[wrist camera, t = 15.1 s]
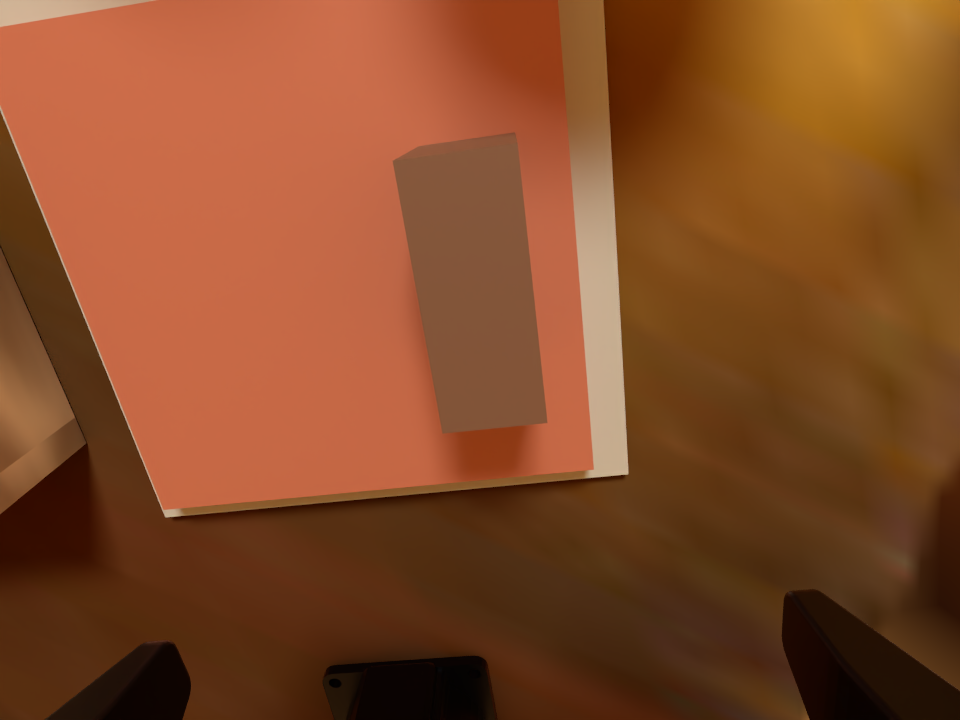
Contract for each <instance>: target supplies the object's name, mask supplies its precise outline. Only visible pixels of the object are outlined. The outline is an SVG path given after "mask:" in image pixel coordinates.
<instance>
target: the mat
mask: <svg viewBox="0 0 960 720" xmlns="http://www.w3.org/2000/svg"><path fill="white" fill-rule="evenodd" d="M149 1H155V0H0V27H3V26H9V25H15V24H21V23H27V22H32V21H38V20H44V19H50V18H56V17H62V16H68V15H73V14H79V13H85V12H91V11H97V10H103V9H108V8H114V7H120V6H126V5H132V4H138V3H144V2H149ZM558 8H559V21H560V34H561V47H562V60H563V73H564V86H565V99H566V112H567V125H568V138H569V151H570V164H571V177H572V190H573V203H574V216H575V229H576V242H577V255H578V268H579V281H580V294H581V308H582V321H583V334H584V347H585V360H586V373H587V386H588V399H589V412H590V425H591V438H592V451H593V464H594V470H585V471H574V472H564V473H553V474H542V475H532V476H521V477H510V478H500V479H489V480H478V481H468V482H457V483H446V484H436V485H425V486H414V487H404V488H393V489H382V490H372V491H361V492H350V493H340V494H329V495H318V496H308V497H297V498H286V499H276V500H265V501H254V502H244V503H233V504H222V505H212V506H201V507H190V508H180V509H169V510H163V508H162V505H161V503H160V500H159V498H158V495H157V493H156V490H155V488H154V485H153V483H152V480H151V478H150V475H149V473H148V470H147V468H146V465H145V463H144V461H143V458H142V456H141V453H140V451H139V448H138V446H137V443H136V441H135V438H134V436H133V433H132V431H131V428H130V426H129V423H128V421H127V418H126V416H125V413H124V411H123V408H122V406H121V404H120V401H119V399H118V396H117V394H116V391H115V389H114V386H113V384H112V381H111V379H110V376H109V374H108V371H107V369H106V366H105V364H104V361H103V359H102V356H101V354H100V352H99V349H98V347H97V344H96V342H95V339H94V337H93V334H92V332H91V329H90V327H89V324H88V322H87V319H86V317H85V314H84V312H83V309H82V307H81V304H80V302H79V299H78V297H77V295H76V292H75V290H74V287H73V285H72V282H71V280H70V277H69V275H68V272H67V270H66V267H65V265H64V262H63V260H62V257H61V255H60V252H59V250H58V247H57V245H56V243H55V240H54V238H53V235H52V233H51V230H50V228H49V225H48V223H47V220H46V218H45V215H44V213H43V210H42V208H41V205H40V203H39V200H38V198H37V195H36V193H35V191H34V188H33V186H32V183H31V181H30V178H29V176H28V173H27V171H26V168H25V166H24V163H23V161H22V158H21V156H20V153H19V151H18V148H17V146H16V143H15V141H14V138H13V136H12V134H11V131H10V129H9V126H8V124H7V121H6V119H5V116H4V114H3V111H2V109H1V106H0V111H1V113H2V116H3V118H4V121H5V123H6V125H7V128H8V130H9V133H10V135H11V138H12V140H13V143H14V145H15V148H16V150H17V153H18V155H19V158H20V160H21V162H22V165H23V167H24V170H25V172H26V175H27V177H28V180H29V182H30V185H31V187H32V190H33V192H34V195H35V197H36V199H37V202H38V204H39V207H40V209H41V212H42V214H43V217H44V219H45V222H46V224H47V227H48V229H49V232H50V234H51V236H52V239H53V241H54V244H55V246H56V249H57V251H58V254H59V256H60V259H61V261H62V264H63V266H64V269H65V271H66V273H67V276H68V278H69V281H70V283H71V286H72V288H73V291H74V293H75V296H76V298H77V301H78V303H79V306H80V308H81V310H82V313H83V315H84V318H85V320H86V323H87V325H88V328H89V330H90V333H91V335H92V338H93V340H94V343H95V345H96V347H97V350H98V352H99V355H100V357H101V360H102V362H103V365H104V367H105V370H106V372H107V375H108V377H109V380H110V382H111V384H112V387H113V389H114V392H115V394H116V397H117V399H118V402H119V404H120V407H121V409H122V412H123V414H124V417H125V419H126V421H127V424H128V426H129V429H130V431H131V434H132V436H133V439H134V441H135V444H136V446H137V449H138V451H139V454H140V456H141V458H142V461H143V463H144V466H145V468H146V471H147V473H148V476H149V478H150V481H151V483H152V486H153V488H154V491H155V493H156V495H157V498H158V500H159V503H160V505H161V508H162V510H163V513H164V515H165V517H176V516H187V515H197V514H208V513H219V512H230V511H240V510H251V509H262V508H273V507H283V506H294V505H305V504H315V503H326V502H337V501H348V500H358V499H369V498H380V497H390V496H401V495H412V494H423V493H433V492H444V491H455V490H465V489H476V488H487V487H498V486H508V485H519V484H530V483H541V482H551V481H562V480H573V479H583V478H594V477H605V476H616V475H626V474H628V456H627V437H626V418H625V399H624V380H623V361H622V342H621V323H620V304H619V285H618V266H617V247H616V228H615V209H614V190H613V170H612V151H611V132H610V113H609V94H608V75H607V56H606V37H605V18H604V0H558Z"/></svg>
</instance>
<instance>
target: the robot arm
mask: <svg viewBox="0 0 960 720" xmlns="http://www.w3.org/2000/svg"><path fill="white" fill-rule="evenodd" d="M782 642H783V647H784V651H785V654H786V657H787V659H788V662H789V665H790V668H791V670H792V673H793V676H794V678H795V681H796V684H797V686H798V689H799V692H800V695H801V697H802V700H803V703H804V705H805V708H806V711H807V714H808V716H809V719H810V720H960V691H959V690H958V689H957V688H955V687H954V686H952V685H951V684H949V683H948V682H947V681H945V680H944V679H943V678H941V677H940V676H938V675H937V674H936V673H934V672H933V671H931V670H930V669H929V668H927V667H926V666H924V665H923V664H922V663H920V662H919V661H917V660H916V659H915V658H913V657H912V656H910V655H909V654H908V653H906V652H905V651H903V650H902V649H900V648H899V647H897V646H896V645H895V644H894V643H892V642H890V641H889V640H888V639H887V638H885V637H884V636H882V635H881V634H880V633H878V632H877V631H875V630H874V629H873V628H871V627H870V626H868V625H867V624H866V623H864V622H863V621H861V620H860V619H858V618H857V617H856V616H854V615H853V614H851V613H850V612H849V611H847V610H846V609H844V608H843V607H842V606H840V605H839V604H837V603H836V602H835V601H833V600H832V599H830V598H829V597H828V596H826V595H825V594H823V593H822V592H820V591H818V590H814V589H810V590H797V591H789V592H787V593H786V595H785V597H784V606H783V623H782ZM472 669H477V670H472ZM323 686H324V689H325V692H326V695H327V698H328V701H329V704H330V707H331V710H332V714H333V717H334V720H497V715H496V709H495V704H494V698H493V693H492V687H491V681H490V676H489V670H488V665H487V662H486V661H485V660H484V659H483V658H481V657H479V656H462V657H448V658H434V659H419V660H405V661H390V662H376V663H361V664H347V665H334V666H330V667H329V668H327V670H326V672H325V675H324V678H323ZM190 690H191V681H190V677H189V674H188V672H187V670H186V667H185V665H184V663H183V660H182V658H181V656H180V654H179V651H178V649H177V647H176V645H175V644H174V643H173V642H171V641H168V640H164V641H152V642H146V643H143V644H141V645H140V646H138V647H137V648H136V649H134V650H133V651H132V652H131V653H129V654H128V655H127V656H125V657H124V658H123V659H122V660H120V661H119V662H118V663H116V664H115V665H114V666H113V667H111V668H110V669H109V670H108V671H106V672H105V673H104V674H102V675H101V676H100V677H99V678H97V679H96V680H95V681H93V682H92V683H91V684H90V685H88V686H87V687H86V688H85V689H83V690H82V691H81V692H79V693H78V694H77V695H76V696H74V697H73V698H72V699H70V700H69V701H68V702H67V703H65V704H64V705H63V706H62V707H60V708H59V709H58V710H56V711H55V712H54V713H53V714H51V715H50V716H49V717H47V718H46V719H45V720H182V719H183V716H184V712H185V709H186V706H187V703H188V700H189V696H190Z"/></svg>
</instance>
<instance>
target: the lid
mask: <svg viewBox="0 0 960 720" xmlns="http://www.w3.org/2000/svg"><path fill="white" fill-rule="evenodd" d="M0 106H1V109H2V111H3V114H4V116H5V119H6V121H7V124H8V126H9V129H10V131H11V134H12V136H13V138H14V141H15V143H16V146H17V148H18V151H19V153H20V156H21V158H22V161H23V163H24V166H25V168H26V171H27V173H28V176H29V178H30V181H31V183H32V186H33V188H34V191H35V193H36V195H37V198H38V200H39V203H40V205H41V208H42V210H43V213H44V215H45V218H46V220H47V223H48V225H49V228H50V230H51V233H52V235H53V238H54V240H55V243H56V245H57V247H58V250H59V252H60V255H61V257H62V260H63V262H64V265H65V267H66V270H67V272H68V275H69V277H70V280H71V282H72V285H73V287H74V290H75V292H76V295H77V297H78V299H79V302H80V304H81V307H82V309H83V312H84V314H85V317H86V319H87V322H88V324H89V327H90V329H91V332H92V334H93V337H94V339H95V342H96V344H97V347H98V349H99V352H100V354H101V356H102V359H103V361H104V364H105V366H106V369H107V371H108V374H109V376H110V379H111V381H112V384H113V386H114V389H115V391H116V394H117V396H118V399H119V401H120V404H121V406H122V408H123V411H124V413H125V416H126V418H127V421H128V423H129V426H130V428H131V431H132V433H133V436H134V438H135V441H136V443H137V446H138V448H139V451H140V453H141V456H142V458H143V461H144V463H145V465H146V468H147V470H148V473H149V475H150V478H151V480H152V483H153V485H154V488H155V490H156V493H157V495H158V498H159V500H160V503H161V505H162V508H163V510H169V509H180V508H190V507H201V506H212V505H222V504H233V503H244V502H254V501H265V500H276V499H286V498H297V497H308V496H318V495H329V494H340V493H350V492H361V491H372V490H382V489H393V488H404V487H414V486H425V485H436V484H446V483H457V482H468V481H478V480H489V479H500V478H510V477H521V476H532V475H542V474H553V473H564V472H574V471H585V470H594V464H593V451H592V438H591V425H590V412H589V399H588V386H587V373H586V360H585V347H584V334H583V321H582V308H581V294H580V281H579V268H578V255H577V242H576V229H575V216H574V203H573V190H572V177H571V164H570V151H569V138H568V125H567V112H566V99H565V86H564V73H563V60H562V47H561V34H560V21H559V8H558V0H155V1H149V2H144V3H138V4H132V5H126V6H120V7H114V8H108V9H103V10H97V11H91V12H85V13H79V14H73V15H68V16H62V17H56V18H50V19H44V20H38V21H32V22H27V23H21V24H15V25H9V26H3V27H0Z"/></svg>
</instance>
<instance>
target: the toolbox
mask: <svg viewBox="0 0 960 720" xmlns="http://www.w3.org/2000/svg"><path fill="white" fill-rule="evenodd" d="M85 444H86V441H85V439H84V436H83V434H82V432H81V430H80V427H79V425H78V423H77V420H76V418H75V416H74V414H73V411H72V409H71V407H70V405H69V402H68V400H67V398H66V395H65V393H64V391H63V389H62V386H61V384H60V382H59V380H58V377H57V375H56V373H55V370H54V368H53V366H52V364H51V361H50V359H49V357H48V355H47V352H46V350H45V348H44V346H43V343H42V341H41V339H40V336H39V334H38V332H37V330H36V327H35V325H34V323H33V321H32V318H31V316H30V314H29V311H28V309H27V307H26V305H25V302H24V300H23V298H22V296H21V293H20V291H19V289H18V286H17V284H16V282H15V280H14V277H13V275H12V273H11V271H10V268H9V266H8V264H7V261H6V259H5V257H4V255H3V252H2V250H1V248H0V514H1V513H2V512H3V511H5V510H6V509H7V508H8V507H10V506H11V505H12V504H13V503H14V502H16V501H17V500H18V499H19V498H20V497H22V496H23V495H24V494H25V493H27V492H28V491H29V490H30V489H31V488H33V487H34V486H35V485H36V484H38V483H39V482H40V481H41V480H42V479H44V478H45V477H46V476H47V475H48V474H50V473H51V472H52V471H53V470H55V469H56V468H57V467H58V466H59V465H61V464H62V463H63V462H64V461H65V460H67V459H68V458H69V457H70V456H72V455H73V454H74V453H75V452H76V451H78V450H79V449H80V448H81V447H83V446H84V445H85Z"/></svg>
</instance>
